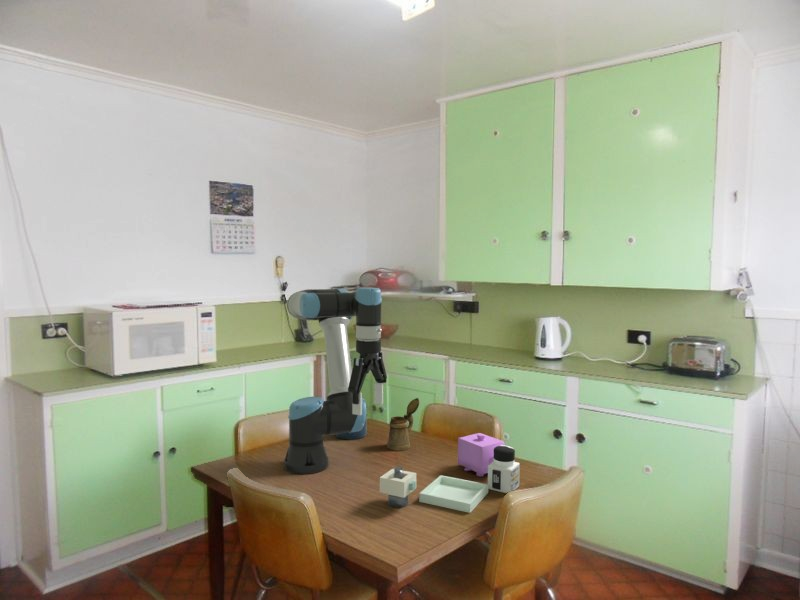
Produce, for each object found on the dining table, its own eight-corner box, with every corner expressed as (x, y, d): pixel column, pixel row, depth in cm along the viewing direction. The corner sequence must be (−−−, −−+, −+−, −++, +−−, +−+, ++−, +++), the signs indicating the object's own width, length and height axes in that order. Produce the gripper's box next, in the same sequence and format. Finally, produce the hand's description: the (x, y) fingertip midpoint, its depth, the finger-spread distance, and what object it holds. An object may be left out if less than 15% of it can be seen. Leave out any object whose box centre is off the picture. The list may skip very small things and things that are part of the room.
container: (510, 494, 176) (511, 453, 175) (487, 489, 180) (487, 448, 179) (519, 486, 183) (520, 446, 182) (496, 481, 187) (497, 442, 186)
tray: (419, 501, 171) (419, 493, 171) (440, 483, 185) (440, 475, 185) (470, 512, 163) (470, 504, 163) (488, 492, 178) (488, 484, 177)
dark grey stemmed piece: (384, 505, 168) (384, 469, 167) (393, 497, 174) (394, 462, 173) (402, 509, 165) (402, 472, 165) (411, 501, 171) (412, 466, 170)
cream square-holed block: (379, 492, 167) (379, 477, 167) (392, 483, 175) (392, 468, 174) (407, 498, 163) (408, 483, 163) (420, 488, 170) (420, 473, 170)
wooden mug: (424, 446, 221) (425, 400, 220) (394, 452, 214) (394, 404, 213) (412, 440, 229) (412, 395, 227) (382, 445, 221) (382, 399, 220)
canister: (369, 430, 240) (369, 389, 239) (364, 440, 227) (364, 396, 226) (338, 429, 241) (338, 388, 240) (332, 439, 229) (331, 395, 227)
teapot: (453, 466, 200) (453, 430, 199) (474, 460, 206) (475, 426, 205) (493, 484, 184) (494, 446, 183) (515, 477, 190) (516, 440, 189)
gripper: (358, 346, 159) (358, 421, 161) (397, 334, 182) (397, 400, 184) (335, 344, 163) (335, 417, 164) (376, 333, 185) (376, 398, 187)
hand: (368, 408), depth 174 cm, fingers open, 13 cm apart
